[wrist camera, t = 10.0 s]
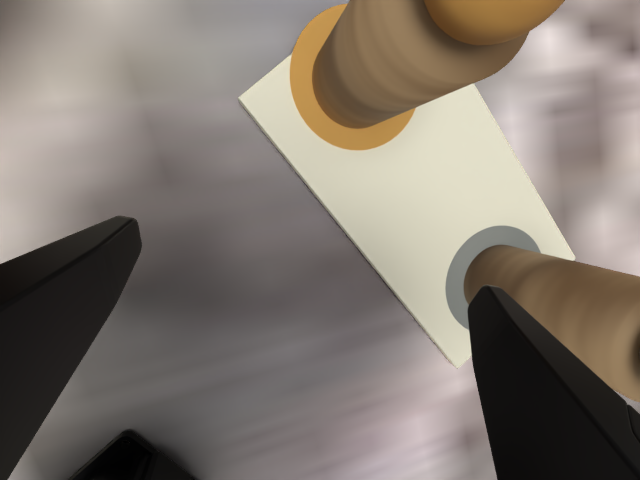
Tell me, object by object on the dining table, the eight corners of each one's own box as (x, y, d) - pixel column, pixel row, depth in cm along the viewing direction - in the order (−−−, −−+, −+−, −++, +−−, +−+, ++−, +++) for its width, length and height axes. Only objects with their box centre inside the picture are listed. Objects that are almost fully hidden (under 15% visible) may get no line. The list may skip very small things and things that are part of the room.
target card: (454, 368, 24) (463, 375, 23) (230, 91, 18) (229, 86, 17) (568, 262, 24) (580, 265, 23) (389, -40, 18) (397, -51, 17)
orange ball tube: (341, 145, 18) (517, 84, 7) (294, 60, 17) (407, -200, 5) (414, 100, 19) (696, -33, 7) (372, 13, 18) (632, -318, 6)
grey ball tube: (488, 331, 23) (755, 493, 11) (449, 279, 21) (707, 401, 10) (540, 282, 23) (856, 389, 11) (505, 228, 22) (821, 285, 10)
